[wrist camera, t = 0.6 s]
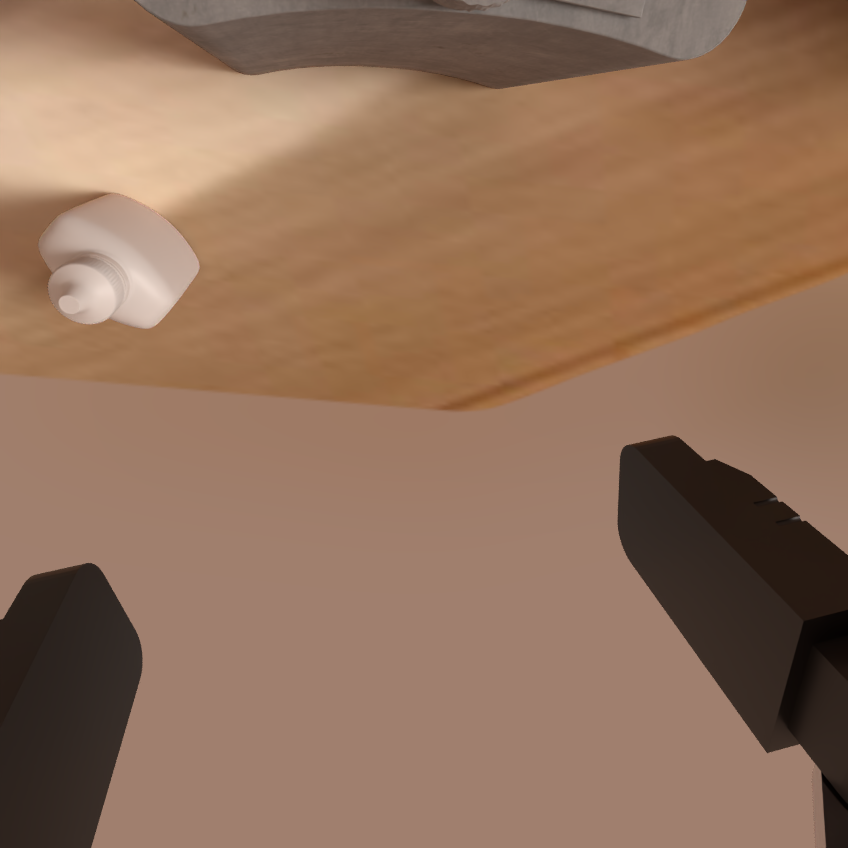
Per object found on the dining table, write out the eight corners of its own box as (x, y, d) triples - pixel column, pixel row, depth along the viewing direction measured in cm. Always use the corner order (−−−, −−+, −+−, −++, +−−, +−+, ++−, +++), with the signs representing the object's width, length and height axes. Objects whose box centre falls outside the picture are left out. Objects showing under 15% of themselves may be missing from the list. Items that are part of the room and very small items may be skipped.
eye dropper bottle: (134, 303, 33) (53, 389, 22) (81, 201, 30) (-40, 245, 19) (209, 281, 33) (163, 356, 22) (163, 177, 30) (87, 208, 20)
